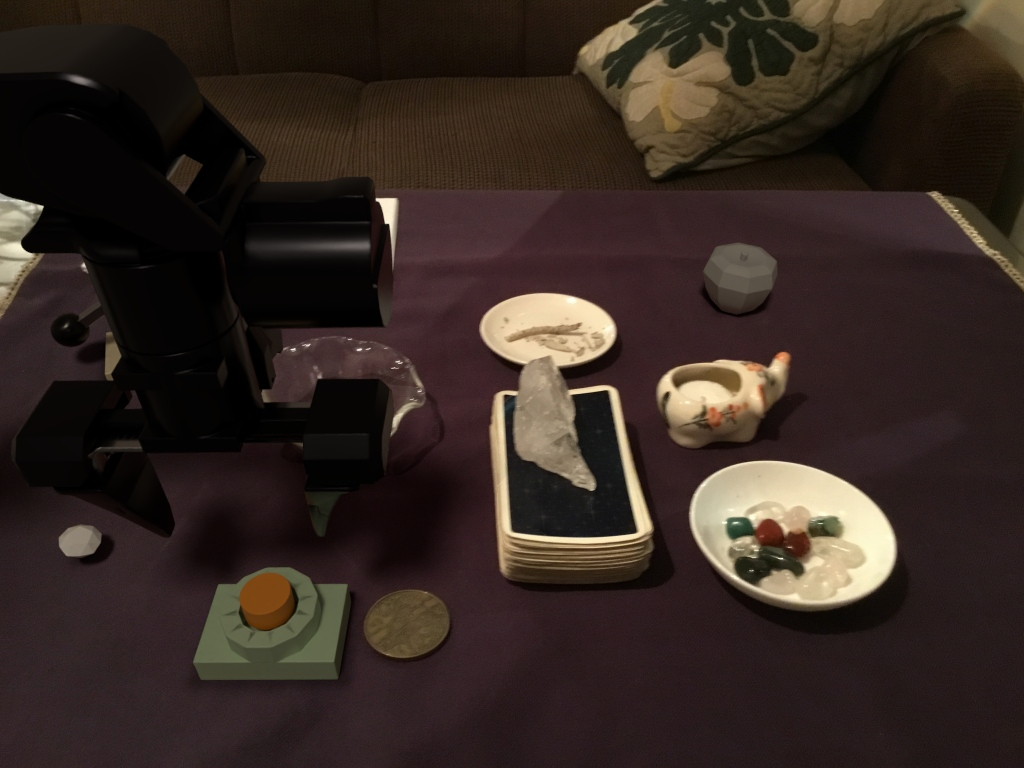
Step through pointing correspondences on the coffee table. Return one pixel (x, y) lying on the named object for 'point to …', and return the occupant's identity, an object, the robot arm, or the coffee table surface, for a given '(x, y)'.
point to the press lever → (75, 326)
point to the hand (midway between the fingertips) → (246, 530)
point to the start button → (267, 601)
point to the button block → (276, 634)
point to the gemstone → (80, 541)
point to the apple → (739, 277)
